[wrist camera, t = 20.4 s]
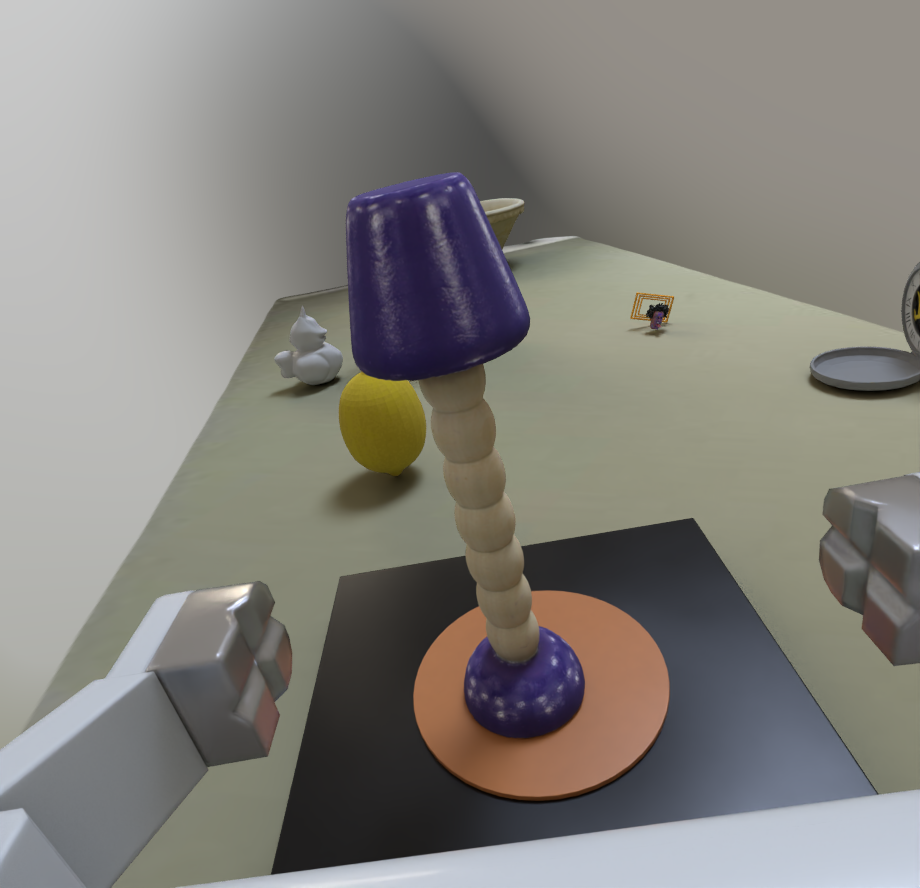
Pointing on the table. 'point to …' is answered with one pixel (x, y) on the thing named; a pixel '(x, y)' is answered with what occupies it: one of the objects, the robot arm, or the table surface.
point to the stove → (581, 738)
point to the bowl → (502, 216)
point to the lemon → (382, 423)
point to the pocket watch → (877, 354)
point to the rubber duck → (309, 354)
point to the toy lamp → (460, 417)
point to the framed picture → (654, 310)
